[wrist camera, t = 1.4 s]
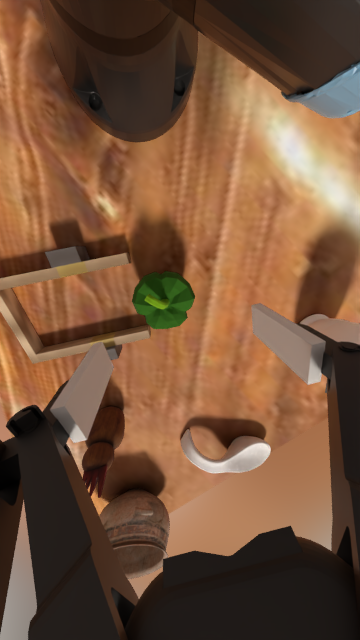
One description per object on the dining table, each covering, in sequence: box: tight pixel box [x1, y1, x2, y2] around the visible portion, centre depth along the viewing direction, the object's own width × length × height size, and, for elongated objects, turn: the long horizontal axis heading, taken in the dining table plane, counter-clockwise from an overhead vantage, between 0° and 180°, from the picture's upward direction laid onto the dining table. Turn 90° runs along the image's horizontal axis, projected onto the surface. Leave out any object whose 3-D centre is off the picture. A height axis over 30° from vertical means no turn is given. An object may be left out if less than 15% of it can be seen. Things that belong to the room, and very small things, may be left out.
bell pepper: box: [132, 271, 195, 329], centre depth 26 cm, size 8×8×10 cm
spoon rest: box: [181, 429, 271, 473], centre depth 44 cm, size 24×12×7 cm, turn 70°
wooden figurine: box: [82, 406, 125, 498], centre depth 33 cm, size 7×6×15 cm
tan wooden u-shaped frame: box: [0, 246, 151, 363], centre depth 29 cm, size 18×20×4 cm
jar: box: [300, 314, 360, 345], centre depth 30 cm, size 11×10×15 cm
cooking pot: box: [99, 489, 170, 579], centre depth 46 cm, size 25×19×12 cm
